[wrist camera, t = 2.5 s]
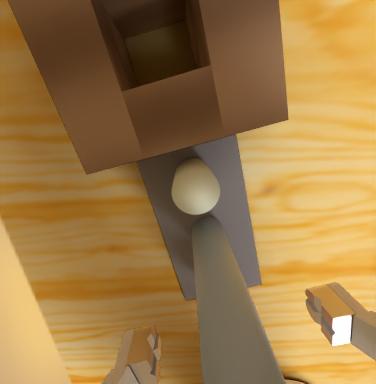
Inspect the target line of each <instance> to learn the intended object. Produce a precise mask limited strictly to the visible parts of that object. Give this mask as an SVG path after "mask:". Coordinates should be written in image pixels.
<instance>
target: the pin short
mask: <svg viewBox="0 0 376 384" xmlns="http://www.w3.org/2000/svg"><path fill="white" fill-rule="evenodd" d="M219 197H220V186H219V183H218V180H217V179H216V177H215V176H214V174H213V173H212V172H211V170H210V169H209V167H208V166H207V164H206V163H205V162H204V161H202V160H201V159H198V158H187V159H185V160H183V161H182V162H181V163H180V164H179V165H178V166H177V168H176V171H175V176H174V181H173V185H172V198H173V201H174V203H175V205H176V206H177V207H178V208H179V209H180V210H182V211H183V212H185V213H188V214H192V215H198V214H203V213H206V212H208V211H209V210H211V209H212V208H213V207H214V206H215V205H216V203H217V202H218V200H219Z"/></svg>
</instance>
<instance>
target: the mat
mask: <svg viewBox="0 0 376 384" xmlns="http://www.w3.org/2000/svg"><path fill="white" fill-rule="evenodd" d="M187 158H198V159H201V160H202V161H204V162H205V163H206V164H207V166H208V167H209V169H210V170H211V172H212V173H213V174H214V176H215V177H216V179H217V180H218V183H219V186H220V197H219V200H218V202H217V203H216V205H215V206H214V207H213V208H212V209H211V210H209V211H208V212H206V213H203V214H198V215H192V214H188V213H185V212H183V211H182V210H180V209H179V208H178V207H177V206H176V205H175V203H174V201H173V198H172V185H173V181H174V176H175V171H176V168H177V166H178V165H179V164H180V163H181V162H182V161H183V160H185V159H187ZM137 164H138V167H139V170H140V172H141V175H142V178H143V181H144V184H145V187H146V189H147V192H148V195H149V198H150V201H151V204H152V206H153V209H154V212H155V215H156V218H157V220H158V223H159V226H160V229H161V232H162V235H163V237H164V240H165V243H166V246H167V249H168V252H169V254H170V257H171V260H172V263H173V266H174V269H175V271H176V274H177V277H178V280H179V283H180V285H181V288H182V291H183V294H184V297H185V300H186V301H189V300H194V299H197V298H196V285H195V272H194V258H193V245H192V232H191V230H192V226H193V224H194V223H195V222H196V221H197V220H198V219H200V218H202V217H213V218H216V219H217V220H218V221H219V222H220V223H221V224H222V227H223V229H224V232H225V234H226V237H227V239H228V241H229V244H230V246H231V249H232V251H233V254H234V256H235V259H236V261H237V264H238V266H239V269H240V271H241V274H242V276H243V278H244V281H245V283H246V286H247V288H248V287H253V286H258V285H262V283H261V277H260V271H259V265H258V260H257V254H256V248H255V242H254V236H253V230H252V225H251V219H250V213H249V207H248V201H247V195H246V190H245V184H244V178H243V172H242V166H241V160H240V155H239V149H238V143H237V137H236V134H234V135H231V136H227V137H223V138H220V139H216V140H212V141H209V142H205V143H201V144H198V145H194V146H190V147H187V148H183V149H179V150H176V151H172V152H168V153H165V154H161V155H157V156H154V157H150V158H146V159H143V160H139V161H137Z"/></svg>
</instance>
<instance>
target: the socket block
mask: <svg viewBox="0 0 376 384" xmlns="http://www.w3.org/2000/svg"><path fill="white" fill-rule="evenodd" d="M8 2H9V4H10V6H11V9H12V11H13V13H14V15H15V17H16V20H17V22H18V24H19V26H20V29H21V31H22V33H23V35H24V37H25V40H26V42H27V44H28V46H29V48H30V51H31V53H32V55H33V57H34V59H35V62H36V64H37V66H38V68H39V71H40V73H41V75H42V77H43V79H44V82H45V84H46V86H47V88H48V90H49V93H50V95H51V97H52V99H53V101H54V104H55V106H56V108H57V110H58V113H59V115H60V117H61V119H62V121H63V124H64V126H65V128H66V130H67V132H68V135H69V137H70V139H71V141H72V144H73V146H74V148H75V150H76V152H77V155H78V157H79V159H80V161H81V163H82V166H83V168H84V170H85V172H86V174H91V173H94V172H98V171H102V170H105V169H109V168H113V167H116V166H120V165H124V164H127V163H131V162H135V161H138V160H142V159H146V158H149V157H153V156H157V155H160V154H164V153H168V152H171V151H175V150H179V149H182V148H186V147H190V146H193V145H197V144H201V143H204V142H208V141H212V140H215V139H219V138H223V137H226V136H230V135H234V134H237V133H241V132H245V131H248V130H252V129H256V128H259V127H263V126H267V125H270V124H274V123H278V122H281V121H285V120H288V108H287V96H286V83H285V71H284V59H283V47H282V34H281V22H280V10H279V0H8ZM185 19H186V24H187V29H188V33H189V38H190V43H191V47H192V52H193V57H194V61H195V66H196V70H193V71H189V72H186V73H183V74H179V75H176V76H173V77H169V78H166V79H163V80H159V81H156V82H153V83H149V84H146V85H143V86H138V83H137V80H136V76H135V73H134V70H133V67H132V63H131V60H130V57H129V54H128V51H127V47H126V44H125V41H124V39H126V38H129V37H132V36H135V35H138V34H141V33H144V32H148V31H151V30H154V29H157V28H160V27H163V26H167V25H170V24H173V23H176V22H179V21H182V20H185Z"/></svg>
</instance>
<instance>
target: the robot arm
mask: <svg viewBox="0 0 376 384" xmlns="http://www.w3.org/2000/svg"><path fill="white" fill-rule="evenodd" d="M305 293H306V296H307V297H308V298H307V300H306V306H307V309H308V312H309V313H310V315H311V317H312V318H313V320H314V321H315V322H316V323H318V324H320V325H321V331H322V332H323V334H324V335H325V336H326V338H327V339H328V341H329V342H330V343H331V345H332V346H335V345H340V344H346V343H351V344H352V345H354V346H355V347H357V348H358V349H360V350H361V351H362V352H364V353H365V354H367V355H368V356H370V357H371V358H372V359H374V360H375V361H376V313H375V312H373V311H369V312H368V311H367V310H366V309H365V308H364V307H363V306H362V305H361V304H360V303H359V302H358V301H357V300H356V299H354V298H353V297H352V296H351V295H350V294H349V293H348V292H347V291H346V290H345V289H344V288H343V287H342V286H341V285H340V284H338V283H336V282H335V283H330V284H326V285H321V286H317V287H313V288H309V289H306V291H305ZM161 351H162V347H161V339H160V336H159V334H157V333H156V327H155V325H149V326H144V327H139V328H134V329H130V330H126V331H125V333H124V335H123V339H122V343H121V347H120V350H119V354H118V358H117V361H116V365H115V368H114V369H112V370H111V371H110V372H109V374H108V375H107V377H106V378H105V379H104V381H103V382H102V384H159V378H160V365H159V363H158V361H159V359H160V357H161ZM285 382H286V384H305V383H302V382H298V381H293V380H285Z"/></svg>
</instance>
